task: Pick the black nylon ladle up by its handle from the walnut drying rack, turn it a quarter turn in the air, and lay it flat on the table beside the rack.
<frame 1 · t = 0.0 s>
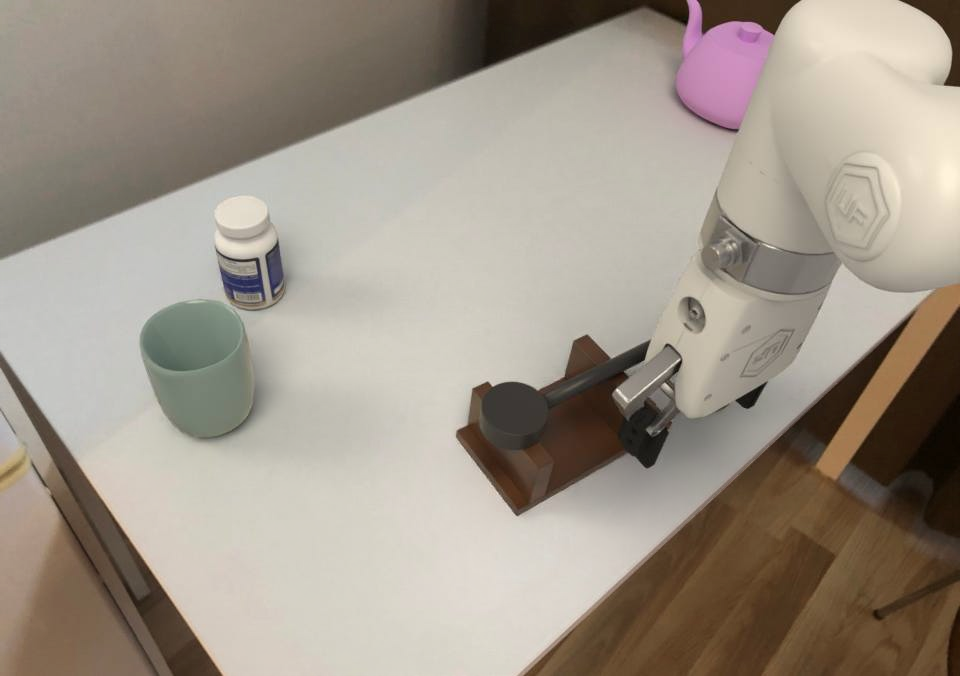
hand: (686, 422, 56), 12 cm above the table, tool pointing down, fingers open, 9 cm apart
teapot: (716, 105, 110), on the table
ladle: (577, 390, 65), point 6 cm above the table, touching rack
cup: (213, 415, 68), on the table
rack: (564, 432, 70), on the table
pill bottle: (255, 292, 78), on the table
beer can: (701, 394, 74), on the table
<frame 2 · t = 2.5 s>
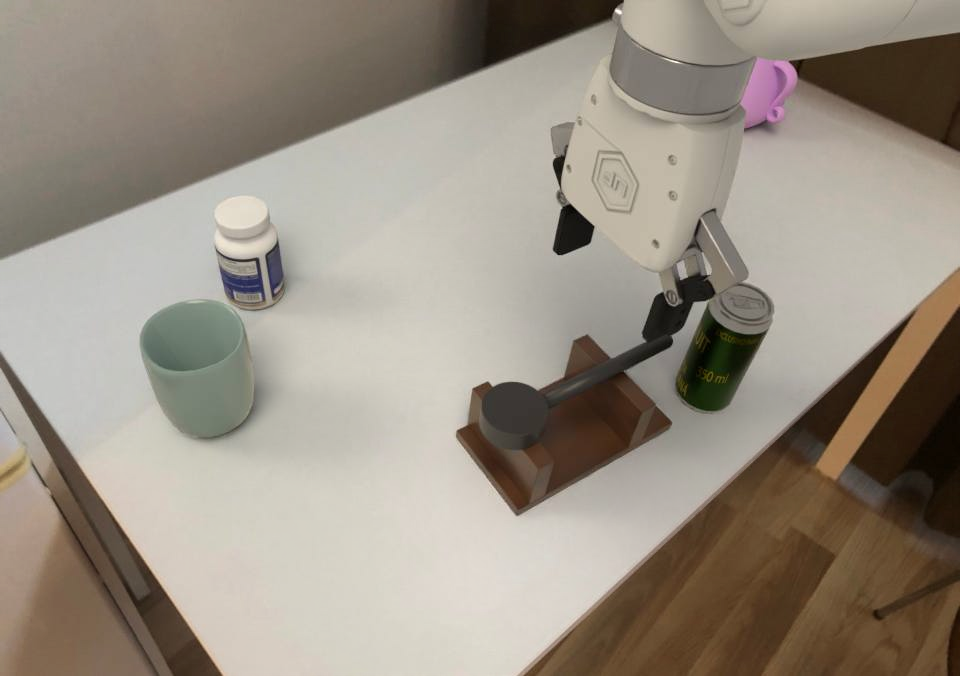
hand: (614, 288, 56), 18 cm above the table, tool pointing down, fingers open, 9 cm apart
nothing on the table moved.
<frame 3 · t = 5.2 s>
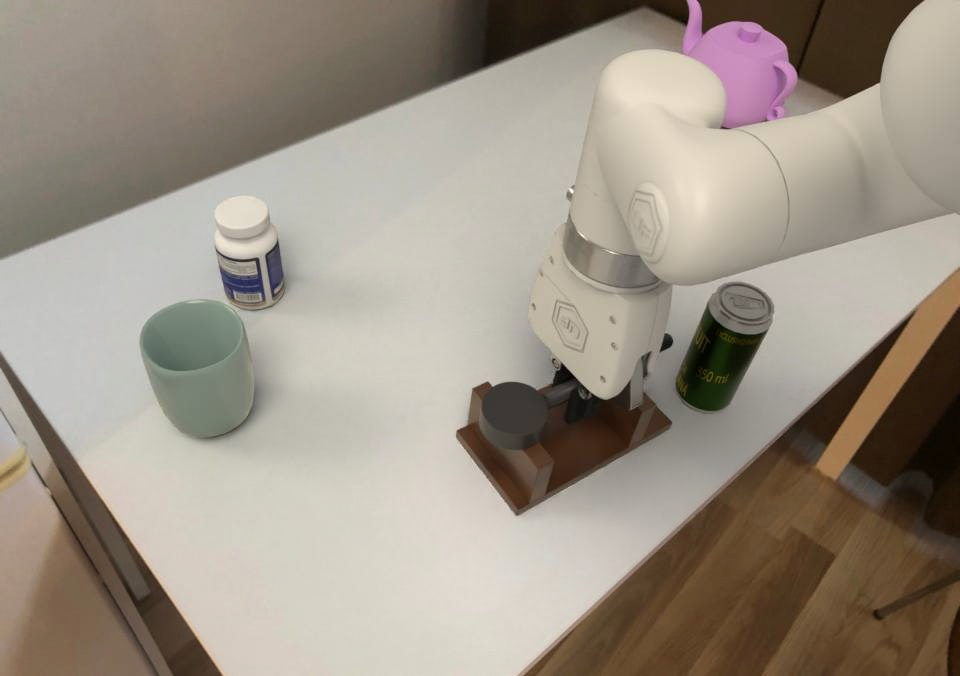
hand: (572, 406, 67), 4 cm above the table, tool pointing down, fingers closed on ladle, 1 cm apart
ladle: (577, 390, 65), point 6 cm above the table, touching gripper, rack
everything else where it was.
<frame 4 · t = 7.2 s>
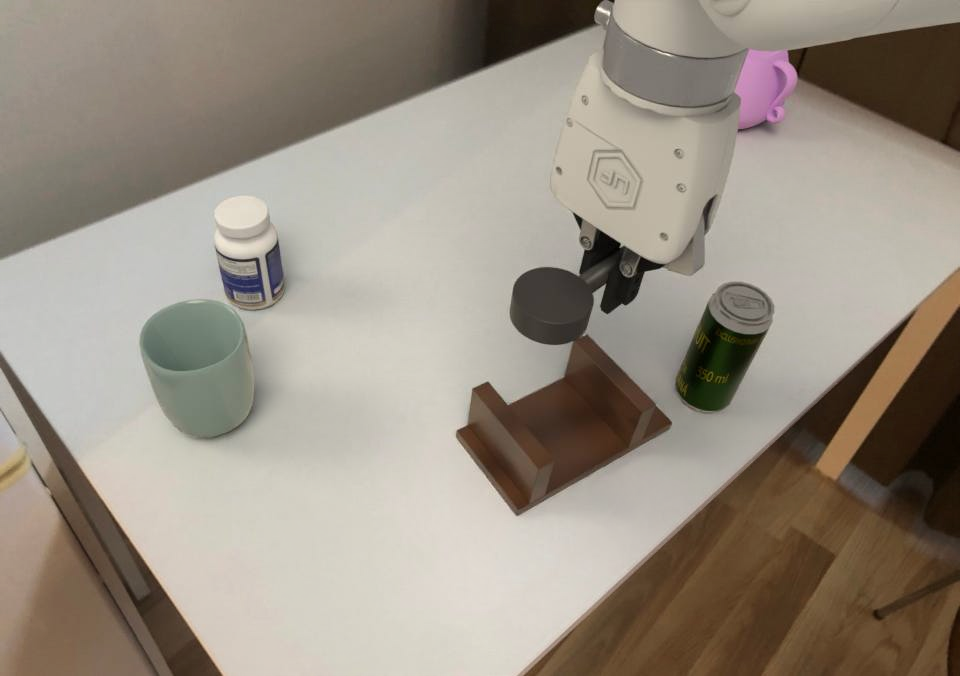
hand: (604, 294, 57), 17 cm above the table, tool pointing down, fingers closed on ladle, 1 cm apart
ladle: (611, 272, 55), point 19 cm above the table, touching gripper
everything else where it was.
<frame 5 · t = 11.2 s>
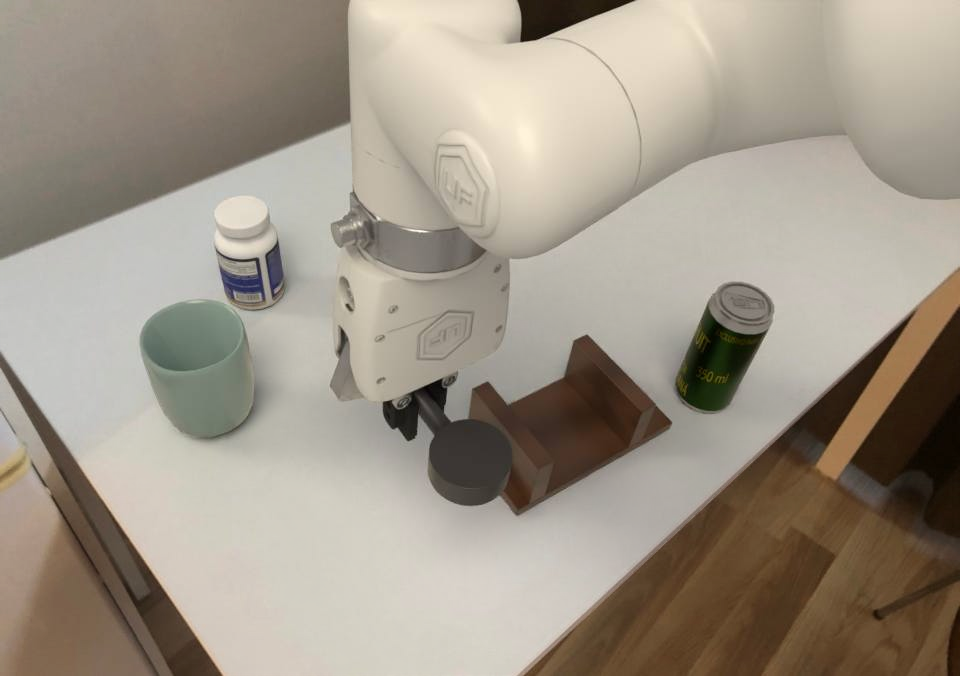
hand: (414, 418, 56), 11 cm above the table, tool pointing down, fingers closed on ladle, 1 cm apart
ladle: (414, 398, 54), point 13 cm above the table, touching gripper
everything else where it was.
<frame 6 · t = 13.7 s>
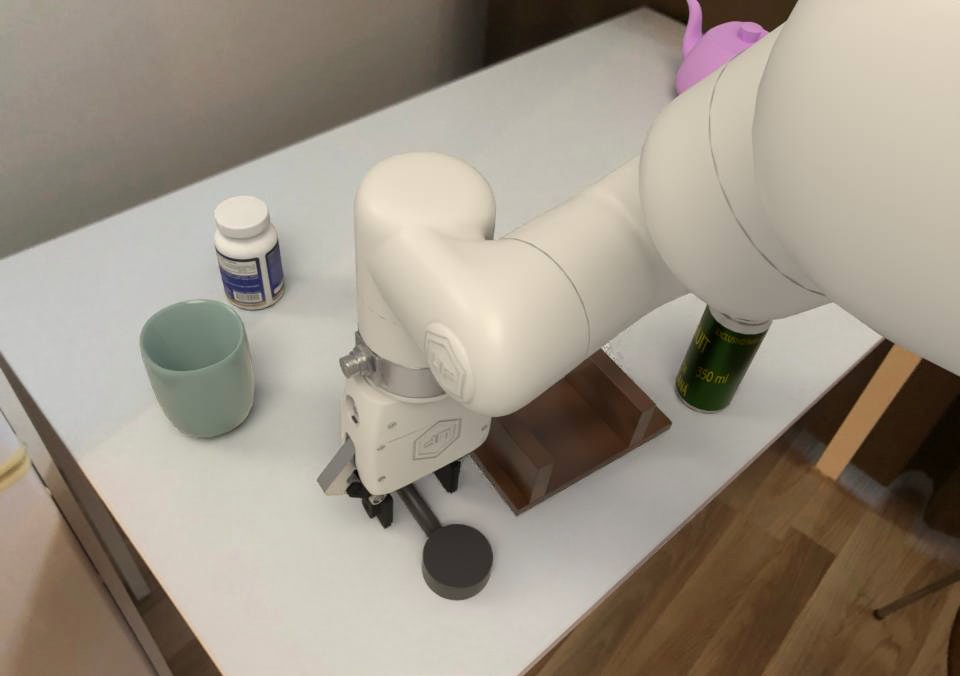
hand: (411, 494, 63), 1 cm above the table, tool pointing down, fingers open, 5 cm apart
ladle: (411, 502, 64), on the table
everything else where it was.
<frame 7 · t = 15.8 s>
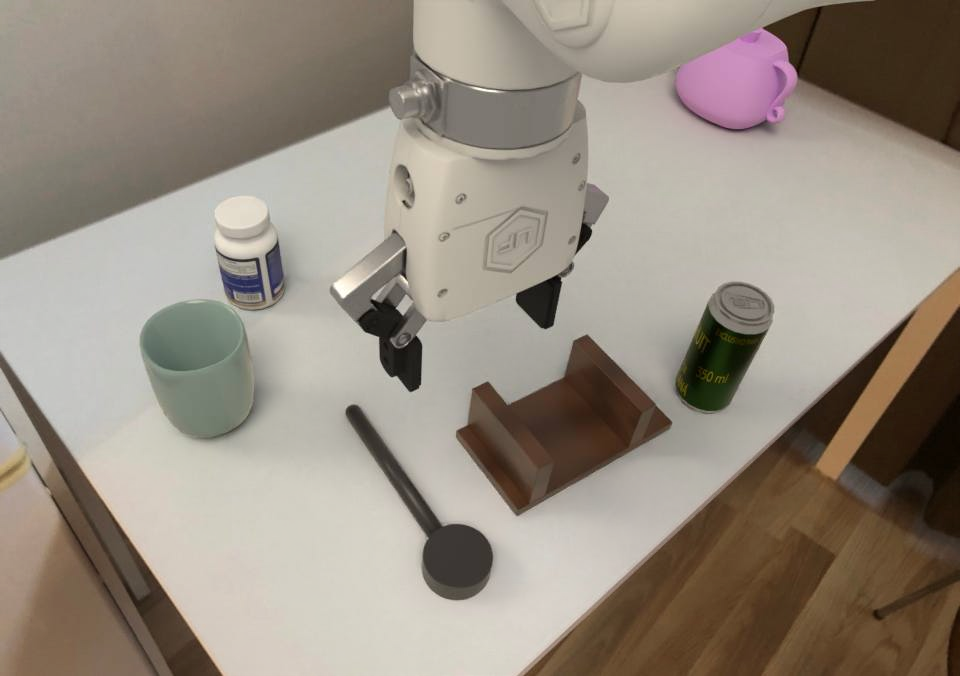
hand: (470, 343, 48), 20 cm above the table, tool pointing down, fingers open, 9 cm apart
nothing on the table moved.
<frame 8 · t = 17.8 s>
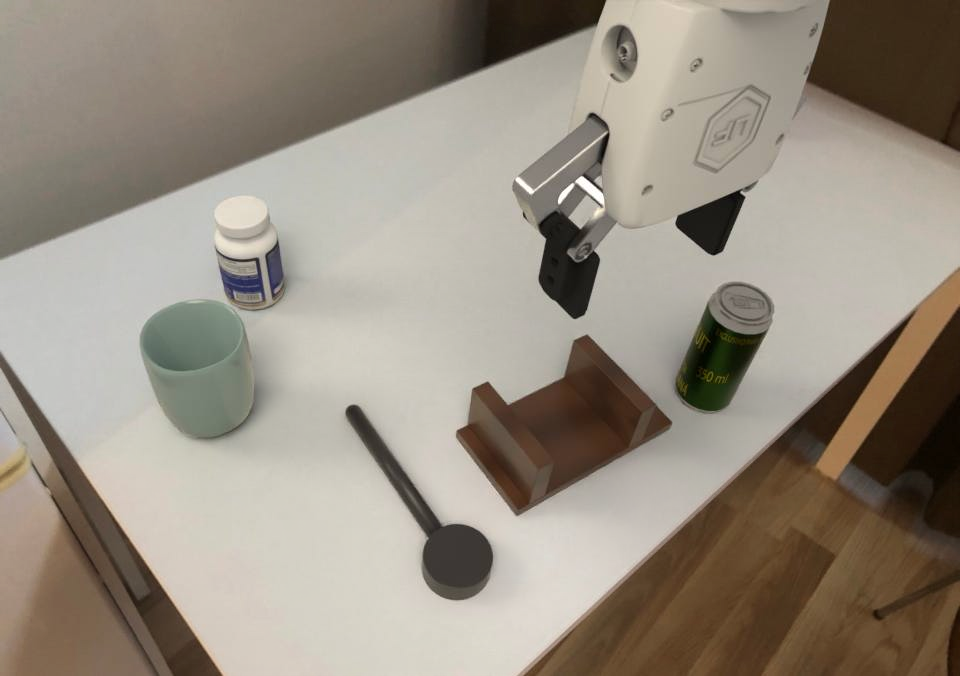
hand: (632, 268, 42), 28 cm above the table, tool pointing down, fingers open, 9 cm apart
nothing on the table moved.
at the end: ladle inside the target area (0.0 cm from its centre), on the table; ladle touching table; the gripper is holding nothing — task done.
